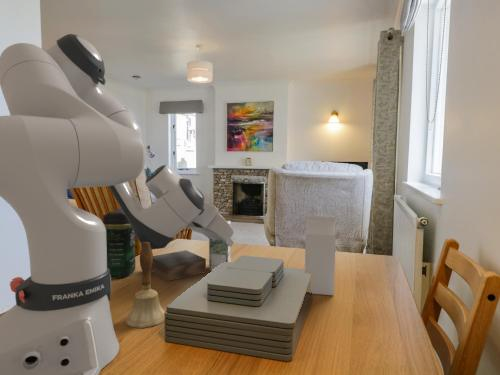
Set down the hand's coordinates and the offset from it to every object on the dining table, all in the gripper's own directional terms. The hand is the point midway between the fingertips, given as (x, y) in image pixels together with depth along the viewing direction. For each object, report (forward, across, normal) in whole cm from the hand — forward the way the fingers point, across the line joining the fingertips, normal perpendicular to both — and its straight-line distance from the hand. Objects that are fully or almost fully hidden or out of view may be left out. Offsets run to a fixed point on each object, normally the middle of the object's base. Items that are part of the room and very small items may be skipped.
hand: (222, 241), depth 104 cm
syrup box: (+6, 0, -6) cm, 9 cm away
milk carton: (+13, +29, +1) cm, 32 cm away
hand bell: (-16, +18, -28) cm, 37 cm away
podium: (-2, -6, -14) cm, 16 cm away
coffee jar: (-12, -14, -24) cm, 30 cm away
